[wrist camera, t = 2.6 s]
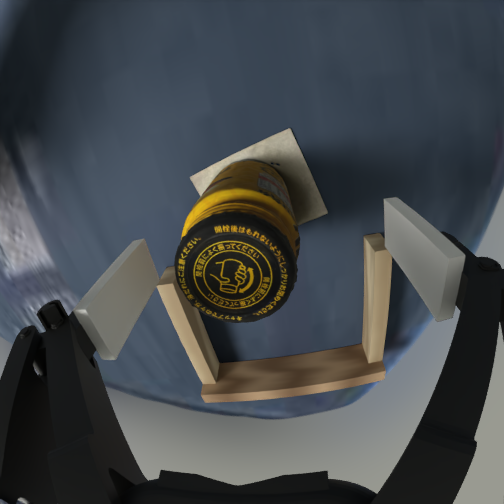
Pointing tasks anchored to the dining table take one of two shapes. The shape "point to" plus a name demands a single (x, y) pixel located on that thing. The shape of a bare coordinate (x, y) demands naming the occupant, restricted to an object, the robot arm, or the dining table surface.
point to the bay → (297, 366)
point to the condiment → (247, 231)
